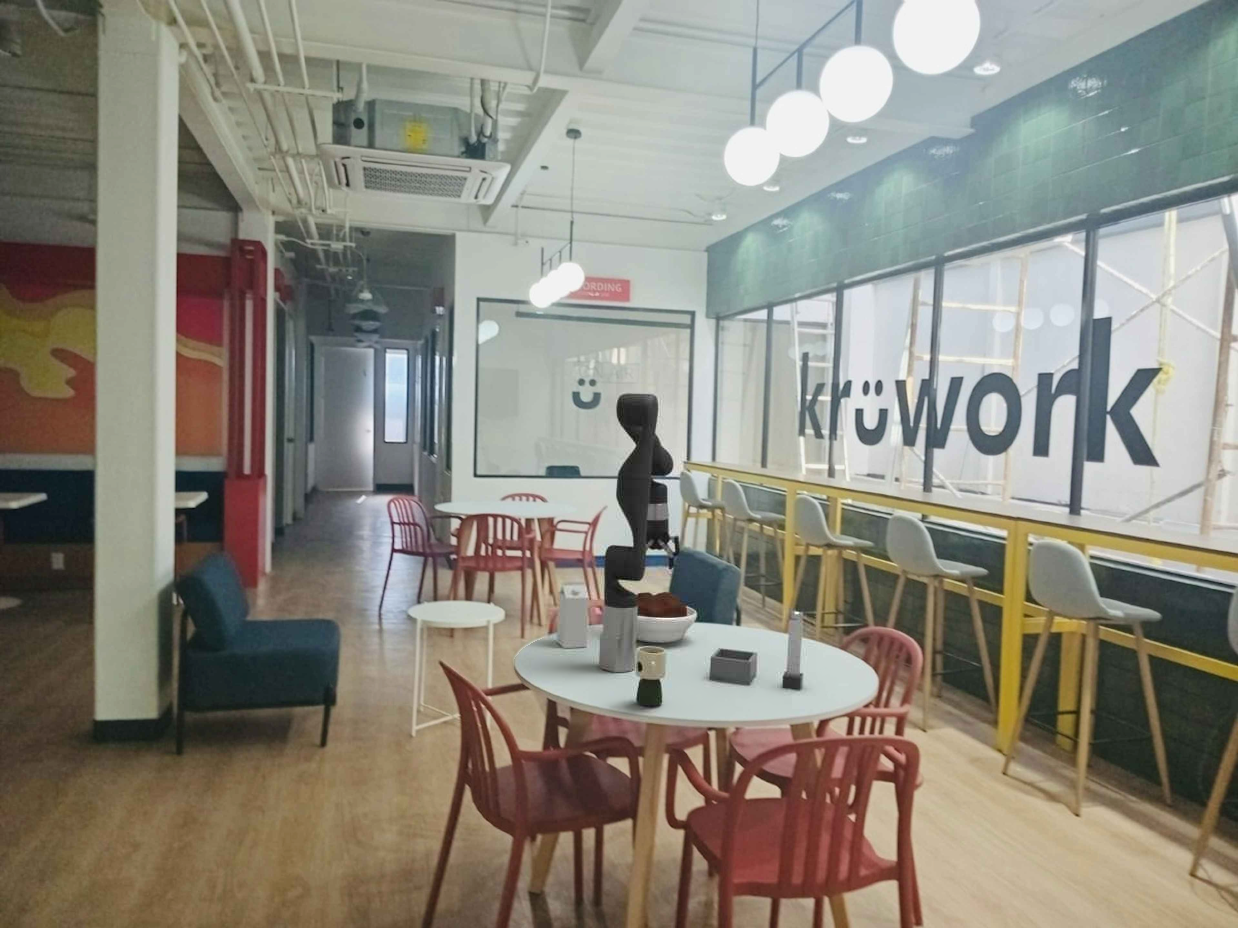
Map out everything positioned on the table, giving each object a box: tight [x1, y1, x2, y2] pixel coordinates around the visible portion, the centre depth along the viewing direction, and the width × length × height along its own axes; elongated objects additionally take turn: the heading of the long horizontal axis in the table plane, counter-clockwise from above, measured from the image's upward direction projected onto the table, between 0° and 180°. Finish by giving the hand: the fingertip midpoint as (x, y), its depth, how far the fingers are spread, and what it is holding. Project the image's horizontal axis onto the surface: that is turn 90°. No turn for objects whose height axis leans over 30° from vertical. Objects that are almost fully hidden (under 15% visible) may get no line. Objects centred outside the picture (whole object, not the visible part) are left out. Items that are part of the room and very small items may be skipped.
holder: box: [709, 647, 758, 686], centre depth 231 cm, size 11×11×6 cm
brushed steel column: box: [781, 610, 804, 690], centre depth 225 cm, size 5×5×20 cm
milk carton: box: [556, 581, 590, 649], centre depth 257 cm, size 7×7×19 cm
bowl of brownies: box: [636, 591, 698, 644], centre depth 268 cm, size 25×25×15 cm
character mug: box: [635, 645, 667, 707], centre depth 205 cm, size 11×7×13 cm, turn 3°
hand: (657, 568), depth 269 cm, fingers open, 8 cm apart
